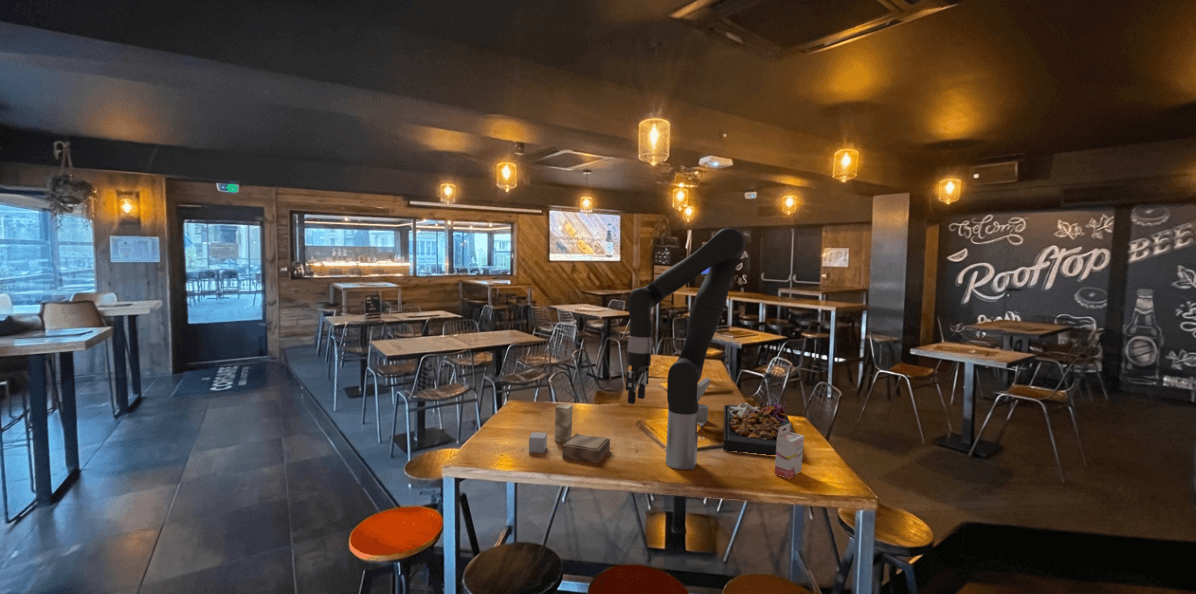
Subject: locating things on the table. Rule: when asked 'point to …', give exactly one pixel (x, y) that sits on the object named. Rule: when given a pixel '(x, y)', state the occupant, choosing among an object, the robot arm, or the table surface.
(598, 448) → the walnut riser
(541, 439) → the stone cube
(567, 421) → the oak block
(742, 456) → the table surface
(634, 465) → the table surface
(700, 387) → the phone holder
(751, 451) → the food platter
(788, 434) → the ink cartridge box
